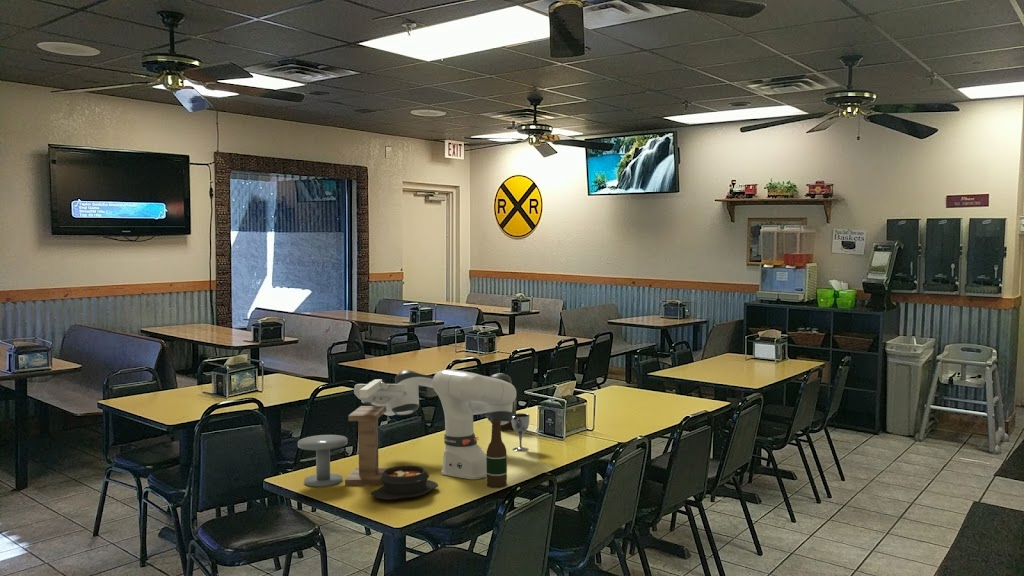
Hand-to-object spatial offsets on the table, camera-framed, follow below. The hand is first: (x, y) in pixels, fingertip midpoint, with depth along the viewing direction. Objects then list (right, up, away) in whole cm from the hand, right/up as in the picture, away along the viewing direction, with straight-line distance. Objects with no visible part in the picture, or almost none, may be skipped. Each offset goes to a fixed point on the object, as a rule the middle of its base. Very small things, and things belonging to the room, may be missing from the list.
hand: (375, 383), depth 293 cm
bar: (0, -2, -8) cm, 8 cm away
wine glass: (+58, -32, +28) cm, 72 cm away
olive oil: (+51, -31, +68) cm, 91 cm away
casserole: (+16, -35, -33) cm, 51 cm away
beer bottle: (+49, -34, -23) cm, 64 cm away
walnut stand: (0, -34, -14) cm, 37 cm away
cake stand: (-17, -35, -16) cm, 42 cm away
